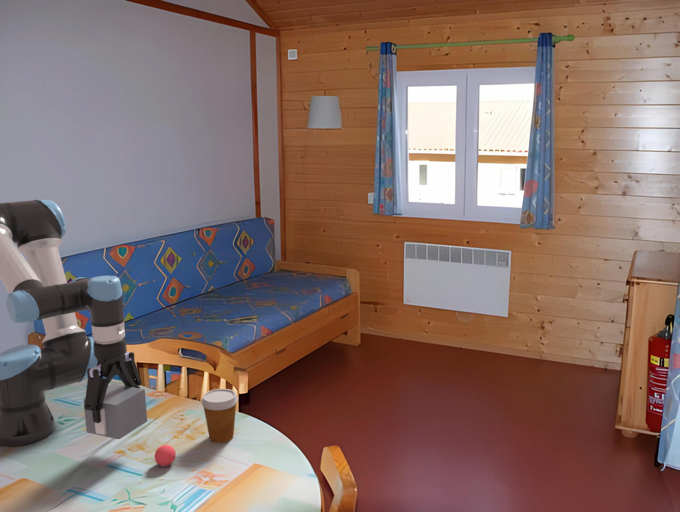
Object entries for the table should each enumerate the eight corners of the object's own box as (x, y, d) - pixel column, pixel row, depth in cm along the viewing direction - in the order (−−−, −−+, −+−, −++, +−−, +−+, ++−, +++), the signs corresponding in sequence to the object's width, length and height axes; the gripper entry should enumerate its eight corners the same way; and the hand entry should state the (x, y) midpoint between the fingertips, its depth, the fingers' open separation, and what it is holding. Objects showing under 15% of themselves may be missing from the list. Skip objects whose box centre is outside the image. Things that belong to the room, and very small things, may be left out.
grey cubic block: (86, 432, 154) (83, 399, 152) (115, 415, 163) (113, 383, 161) (119, 439, 150) (116, 405, 148) (147, 421, 159) (144, 389, 158)
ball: (150, 467, 152) (149, 448, 151) (163, 457, 156) (162, 439, 155) (167, 471, 150) (166, 452, 149) (180, 461, 154) (179, 443, 153)
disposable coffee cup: (231, 447, 161) (229, 404, 158) (197, 444, 163) (195, 401, 160) (244, 430, 170) (243, 389, 168) (211, 427, 172) (209, 386, 169)
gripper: (86, 356, 140) (95, 447, 145) (152, 327, 161) (158, 407, 165) (61, 352, 143) (70, 441, 147) (129, 324, 164) (135, 403, 168)
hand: (117, 423), depth 156 cm, fingers closed on grey cubic block, 10 cm apart
